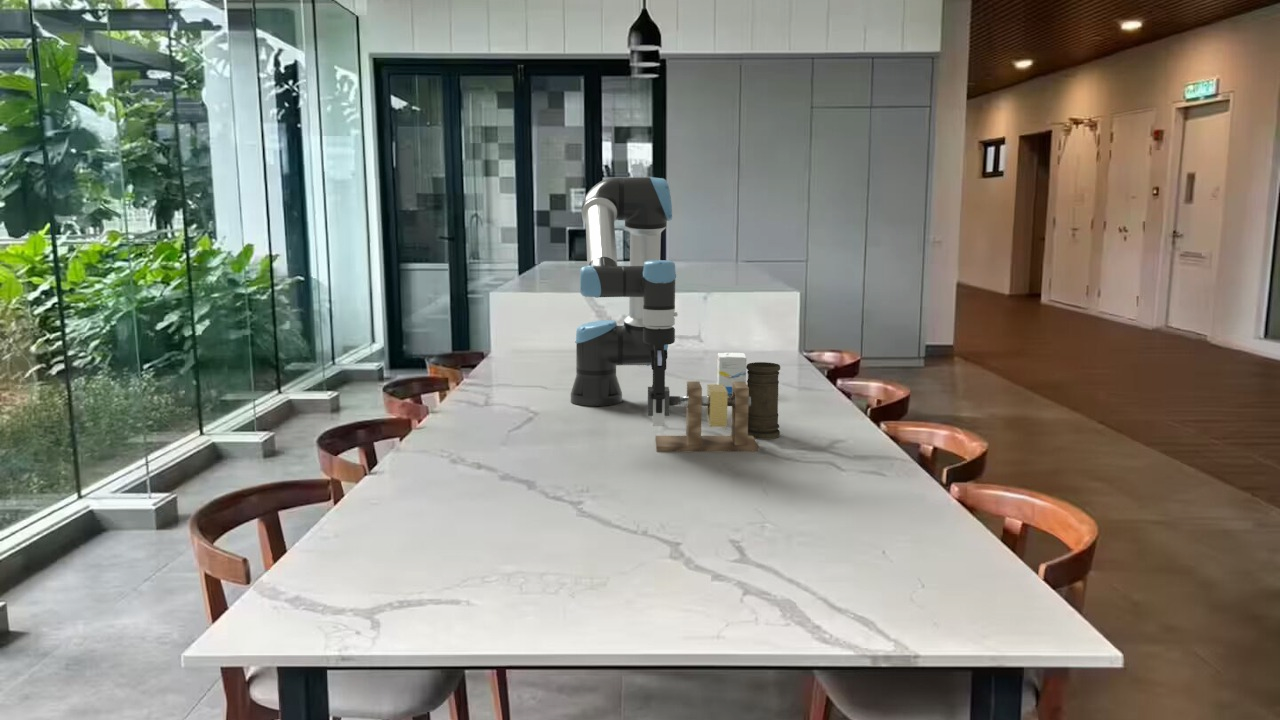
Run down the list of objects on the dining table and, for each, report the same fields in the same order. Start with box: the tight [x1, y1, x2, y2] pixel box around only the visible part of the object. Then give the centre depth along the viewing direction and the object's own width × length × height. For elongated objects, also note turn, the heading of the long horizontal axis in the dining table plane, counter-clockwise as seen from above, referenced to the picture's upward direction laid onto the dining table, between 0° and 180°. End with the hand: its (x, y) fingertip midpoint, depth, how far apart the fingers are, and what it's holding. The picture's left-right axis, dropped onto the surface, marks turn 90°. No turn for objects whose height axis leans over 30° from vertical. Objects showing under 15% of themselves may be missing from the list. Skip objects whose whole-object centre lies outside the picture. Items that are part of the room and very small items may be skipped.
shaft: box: [647, 386, 751, 417], centre depth 220 cm, size 24×5×6 cm, turn 91°
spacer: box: [706, 384, 729, 428], centre depth 220 cm, size 4×8×8 cm, turn 1°
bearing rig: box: [654, 380, 760, 452], centre depth 221 cm, size 24×10×15 cm, turn 91°
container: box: [746, 361, 781, 440], centre depth 231 cm, size 9×9×18 cm
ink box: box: [716, 352, 747, 396], centre depth 283 cm, size 9×8×12 cm
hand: (658, 422), depth 221 cm, fingers closed on shaft, 5 cm apart
